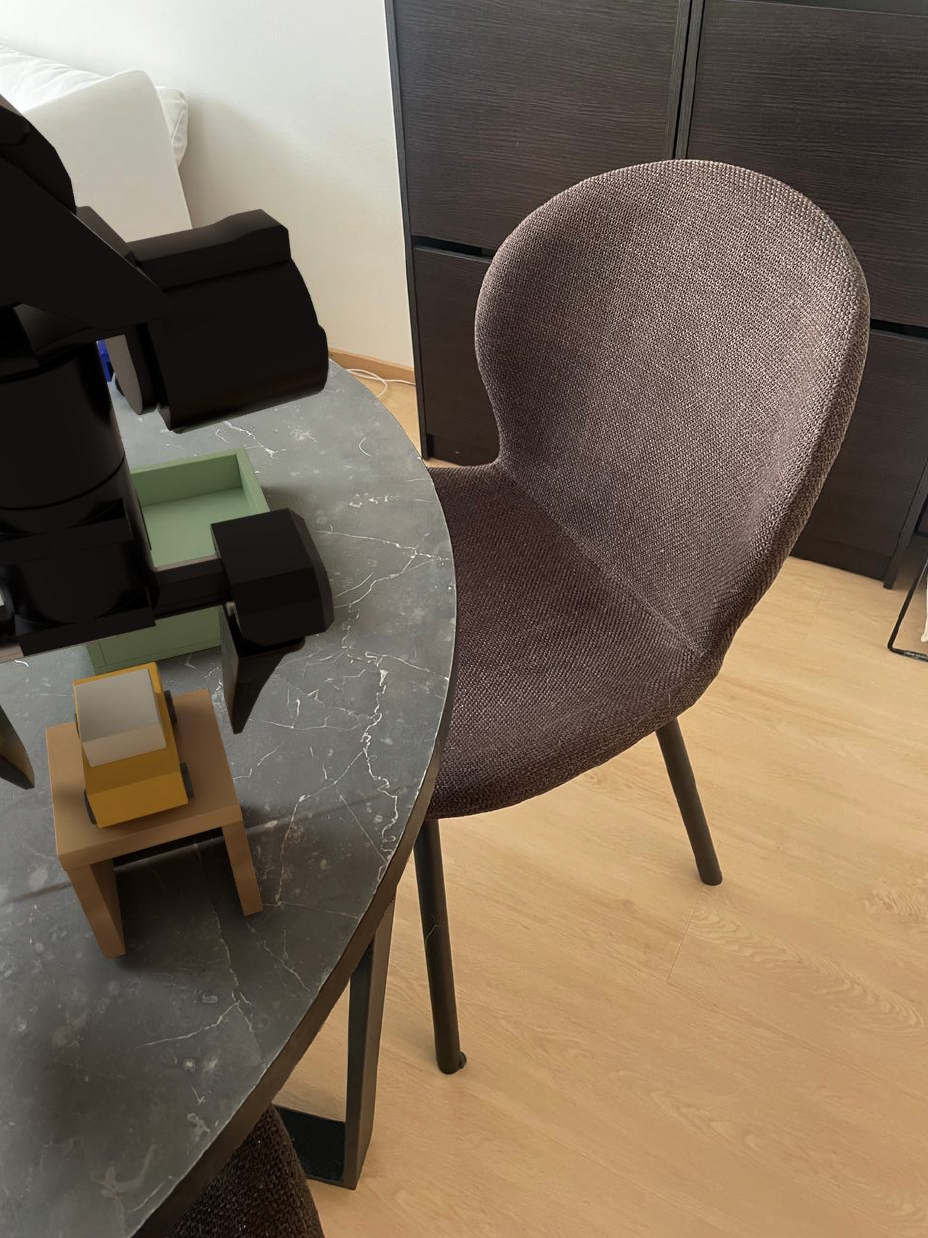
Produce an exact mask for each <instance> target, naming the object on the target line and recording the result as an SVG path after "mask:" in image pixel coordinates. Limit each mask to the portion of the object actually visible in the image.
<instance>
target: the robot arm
mask: <svg viewBox="0 0 928 1238" xmlns="http://www.w3.org/2000/svg"><path fill="white" fill-rule="evenodd" d="M290 241H291V240H290V231H289V229H288V228H287V227H286V226H284V224H282V223H281V222H280V221H278V220H277V219H276V218H274V217H273V216H271V214H268V213H267V212H266V211H265V210H264V209H262V208H257V209H252V210H248V211H242V212H238V213H234V214H230V215H228V216H226V217H224V218H221V219H219V220H218V221H216V222H214V223H211V224H208V225H203V226H199V227H195V228H190V229H185V230H180V231H175V232H170V233H165V234H161V235H156V236H152V237H145V238H142V239H141V238H140V239H137V240H132V241H127V242H126V240H124V239H123V238H122V236H120V235H119V234H118V233H117V231H116V230H115V229H113V227H111V226H110V225H109V223H107V222H106V221H105V220H104V218H102V217H101V216H100V214H99V213H97V211H96V210H94V208H93V207H92V206H90V205H83V206H79V205H77V204H76V199H75V193H74V188H73V183H72V179H71V177H70V174H69V172H68V171H67V168H66V166H65V165H64V163H63V161H62V159H61V156H60V155H59V153H58V151H57V149H56V147H55V146H53V145H52V143H51V142H50V140H48V139H47V138H46V137H45V136H44V134H43V133H42V132H41V131H40V130H38V128H36V127H35V125H34V124H33V123H32V122H31V121H30V120H29V119H28V118H27V117H26V116H25V115H24V114H22V113H21V112H20V110H18V109H17V108H16V107H15V106H14V105H13V104H12V103H11V102H10V101H9V100H8V99H6V97H4V96H3V95H2V94H1V93H0V599H1V601H2V604H1V605H0V665H1V664H6V663H10V662H15V661H19V660H23V659H27V658H32V657H36V656H40V655H44V654H50V653H53V652H57V651H61V650H65V649H70V648H75V647H79V646H85V644H88V643H92V642H97V641H101V640H105V639H110V638H114V637H117V636H119V635H120V634H124V633H129V632H133V631H137V630H141V629H146V628H150V627H154V626H156V622H155V620H159V619H163V618H168V617H172V616H177V615H181V614H185V613H190V612H194V611H198V610H203V609H207V608H211V607H216V606H217V610H218V617H219V626H220V642H221V645H220V655H221V670H222V671H221V673H222V687H223V697H224V702H225V707H226V712H227V715H228V720H229V724H230V727H231V730H232V734H233V735H240V734H242V733H243V731H244V730H245V727H246V725H247V722H248V720H249V718H250V716H251V713H252V711H253V709H254V707H255V705H256V703H257V701H258V699H259V697H260V694H261V692H262V690H263V688H264V687H265V685H266V684H267V682H268V681H269V679H270V678H271V676H272V675H273V674H274V672H275V670H276V669H277V667H279V665H280V663H281V662H282V660H283V659H284V657H286V656H287V655H289V654H293V653H296V652H300V651H301V650H302V649H303V648H304V647H305V645H306V643H307V642H306V641H307V640H306V637H310V636H314V635H318V634H323V633H326V632H327V631H328V629H329V628H330V627H331V626H332V625H333V624H334V622H335V621H336V618H335V617H336V616H335V609H334V599H333V590H332V586H331V582H330V578H329V575H328V571H327V569H326V566H325V564H324V562H323V560H322V558H321V555H320V553H319V550H318V548H317V546H316V543H315V542H314V539H313V537H312V534H311V533H310V530H309V528H308V525H307V523H306V521H305V519H304V517H302V516H301V515H299V514H298V513H296V512H295V511H294V510H292V509H291V508H290V507H284V508H279V509H275V510H270V512H265V513H260V514H255V515H250V516H246V517H241V518H236V519H231V520H226V521H222V522H217V523H212V524H210V531H211V536H212V540H213V545H214V550H215V553H214V554H212V555H209V556H204V557H200V558H195V559H190V560H186V561H181V562H176V563H172V564H167V565H163V566H158V567H155V566H154V562H153V559H152V555H151V550H152V548H151V543H150V539H149V535H148V531H147V527H146V523H145V519H144V516H143V512H142V508H141V504H140V500H139V496H138V492H137V489H136V488H135V486H134V485H133V481H132V477H131V473H130V466H129V462H128V458H127V455H126V451H125V447H124V442H123V438H122V435H121V430H120V427H119V423H118V419H117V415H116V411H115V407H114V404H113V399H112V395H111V391H110V387H109V385H108V382H107V380H106V376H105V372H104V368H103V364H102V360H101V357H100V353H99V349H98V345H97V343H98V341H100V340H104V339H105V344H106V347H107V351H108V354H109V358H110V361H111V364H112V367H113V370H114V375H116V377H117V380H118V383H119V385H120V387H121V389H122V391H123V394H124V396H125V397H124V396H123V397H124V398H125V399H126V401H127V404H128V405H129V406H130V408H131V409H132V411H133V412H134V413H135V414H136V415H137V416H144V415H148V414H151V413H154V412H155V411H156V410H157V412H158V413H159V416H160V417H161V419H162V420H163V422H164V424H165V427H166V429H167V431H169V432H173V433H174V434H175V435H183V434H186V433H190V432H193V431H196V430H199V429H203V428H207V427H209V426H213V425H216V424H220V423H223V422H227V421H230V420H234V419H238V418H240V417H244V416H247V415H250V414H254V413H257V412H261V411H264V410H268V409H271V408H274V407H278V406H281V405H285V404H288V403H292V402H295V401H298V400H302V399H306V398H309V397H312V396H315V395H318V394H320V393H322V391H324V389H325V388H326V384H327V382H328V377H329V369H330V361H329V360H330V357H329V355H330V352H329V343H328V338H327V337H328V336H327V333H326V330H325V329H324V327H323V326H322V325H320V324H319V320H318V315H317V312H316V308H315V306H314V303H313V300H312V296H311V294H310V291H309V289H308V286H307V284H306V282H305V278H304V277H303V274H302V273H301V271H300V269H299V268H298V266H297V264H296V263H295V261H294V258H293V257H292V250H291V249H292V248H291V242H290ZM0 779H1V780H4V781H6V782H8V783H10V784H12V785H14V786H17V787H18V788H20V789H23V790H25V791H27V790H31V789H34V788H35V787H36V782H35V781H36V780H35V773H34V768H33V766H32V763H31V761H30V758H29V755H28V752H27V750H26V747H25V745H24V743H23V741H22V739H21V738H20V736H19V734H18V733H17V731H16V729H15V727H14V726H13V724H12V722H11V721H10V719H9V717H8V715H7V714H6V712H5V710H4V709H3V707H2V705H1V704H0Z"/></svg>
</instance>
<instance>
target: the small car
mask: <svg viewBox="0 0 928 1238" xmlns="http://www.w3.org/2000/svg"><path fill="white" fill-rule="evenodd" d="M72 689H73V696H74V703H75V713H74V721H75V724H76V729H77V733H78V736H79V740H80V745H81V753H82V761H83V769H84V777H85V785H86V789H84V799H85V805H86V809H87V813H88V816H89V819H90V821H91V823H92V824H93V825H95V824H98V826H99V828H102V827H106V826H109V825H113V824H117V823H120V822H124V821H127V820H131V819H135V818H138V817H142V816H145V815H149V814H152V813H156V812H160V811H163V810H167V809H170V808H174V807H178V806H181V805H185V804H187V803H188V798H192V797H194V791H193V786H192V782H191V778H190V774H189V770H188V767H187V763H186V762H183V763H180V762H179V757H178V753H177V748H176V744H175V739H174V734H173V730H172V725H171V724H172V723H176V722H177V721H178V720H177V715H176V711H175V707H174V703H173V699H172V697H173V696H172V692H171V690H170V689H166V690H164V686H163V682H162V679H161V675H160V671H159V668H158V665H157V661H153V662H149V663H145V664H141V665H137V666H133V667H128V668H124V669H120V670H116V671H112V672H108V673H103V674H99V675H94V676H90V677H85V678H82V679H77V680H74V681H72Z"/></svg>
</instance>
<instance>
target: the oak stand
mask: <svg viewBox="0 0 928 1238" xmlns="http://www.w3.org/2000/svg"><path fill="white" fill-rule="evenodd" d="M172 699H173V703H174V707H175V711H176V715H177V720H178V721H177V722H176V723H172V724H171V725H172V730H173V734H174V739H175V744H176V748H177V753H178V757H179V762H180V763H183V762H186V763H187V767H188V770H189V774H190V778H191V782H192V786H193V791H194V797H192V798H188V803H187V804H185V805H181V806H178V807H174V808H170V809H167V810H163V811H160V812H156V813H152V814H149V815H145V816H142V817H138V818H135V819H131V820H127V821H124V822H120V823H117V824H113V825H109V826H106V827H102V828H99V826H98V824H95V825H93V824H92V823H91V821H90V819H89V816H88V813H87V809H86V805H85V799H84V789H86V785H85V777H84V769H83V761H82V753H81V745H80V740H79V736H78V733H77V729H76V724H75V720H74V721H70V722H67V723H61V724H57V725H53V726H50V727H46V728H45V731H44V733H45V740H46V752H47V761H48V774H49V784H50V795H51V806H52V817H53V829H54V837H55V848H56V849H55V850H56V857H57V859H58V861H59V863H60V865H61V868H62V870H63V872H65V873H66V875H67V877H68V879H69V882H70V884H71V886H72V889H73V891H74V893H75V896H76V897H77V899H78V902H79V904H80V906H81V909H82V911H83V914H84V915H85V917H86V920H87V923H88V925H89V927H90V929H91V931H92V933H93V936H94V938H95V940H96V943H97V945H98V947H99V950H100V952H101V954H102V956H103V958H104V960H110V959H113V958H116V957H120V956H123V955H125V954H126V953H127V950H126V943H125V937H124V929H123V923H122V915H121V908H120V901H119V894H118V886H117V880H116V873H115V872H116V871H115V866H114V860H113V858H117V857H121V856H124V855H127V854H131V853H134V852H138V851H142V850H145V849H148V848H152V847H155V846H158V845H162V844H166V843H169V842H173V841H176V840H179V839H183V838H186V837H189V836H193V835H196V834H200V833H204V832H207V831H210V830H214V829H218V828H221V832H222V836H223V839H224V843H225V847H226V852H227V855H228V859H229V864H230V867H231V871H232V875H233V879H234V882H235V886H236V887H235V888H236V891H237V894H238V899H239V902H240V905H241V910H242V915H243V917H246V916H250V915H253V914H255V913H256V914H257V913H259V912H262V911H264V906H263V901H262V898H261V897H262V896H261V892H260V889H259V885H258V879H257V876H256V871H255V866H254V862H253V857H252V853H251V849H250V845H249V841H248V836H247V831H246V828H245V824H244V819H243V813H242V810H241V804H240V802H239V797H238V794H237V790H236V787H235V783H234V778H233V774H232V771H231V767H230V763H229V760H228V757H227V752H226V749H225V745H224V741H223V736H222V734H221V730H220V727H219V722H218V719H217V715H216V710H215V707H214V703H213V700H212V696H211V692H210V689H209V688H208V687H205V688H202V689H197V690H193V691H190V692H185V693H181V694H178V695H173V696H172Z"/></svg>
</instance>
